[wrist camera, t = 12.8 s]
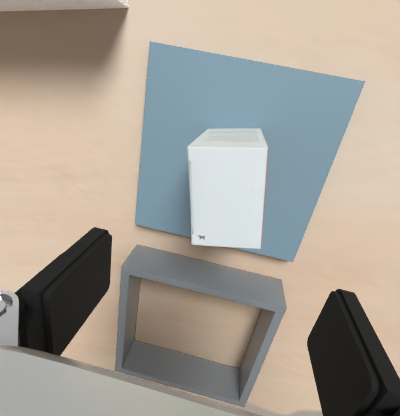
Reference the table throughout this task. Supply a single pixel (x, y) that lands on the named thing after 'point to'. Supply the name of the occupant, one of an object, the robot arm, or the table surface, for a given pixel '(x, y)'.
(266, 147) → the small box
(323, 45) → the table surface
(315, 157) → the board
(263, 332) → the rectangular frame
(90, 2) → the building model
